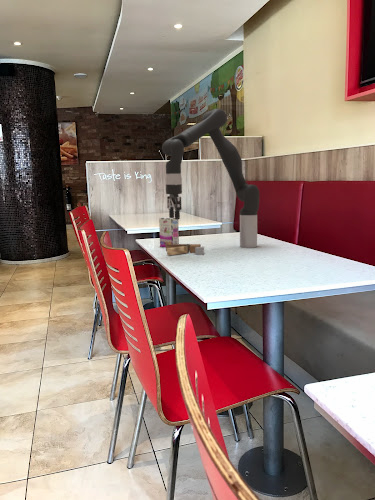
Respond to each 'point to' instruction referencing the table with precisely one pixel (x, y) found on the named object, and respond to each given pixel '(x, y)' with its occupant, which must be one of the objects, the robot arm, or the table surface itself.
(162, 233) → the candy bar box
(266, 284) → the table surface
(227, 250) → the table surface
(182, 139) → the robot arm
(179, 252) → the block
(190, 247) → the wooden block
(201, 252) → the collar
